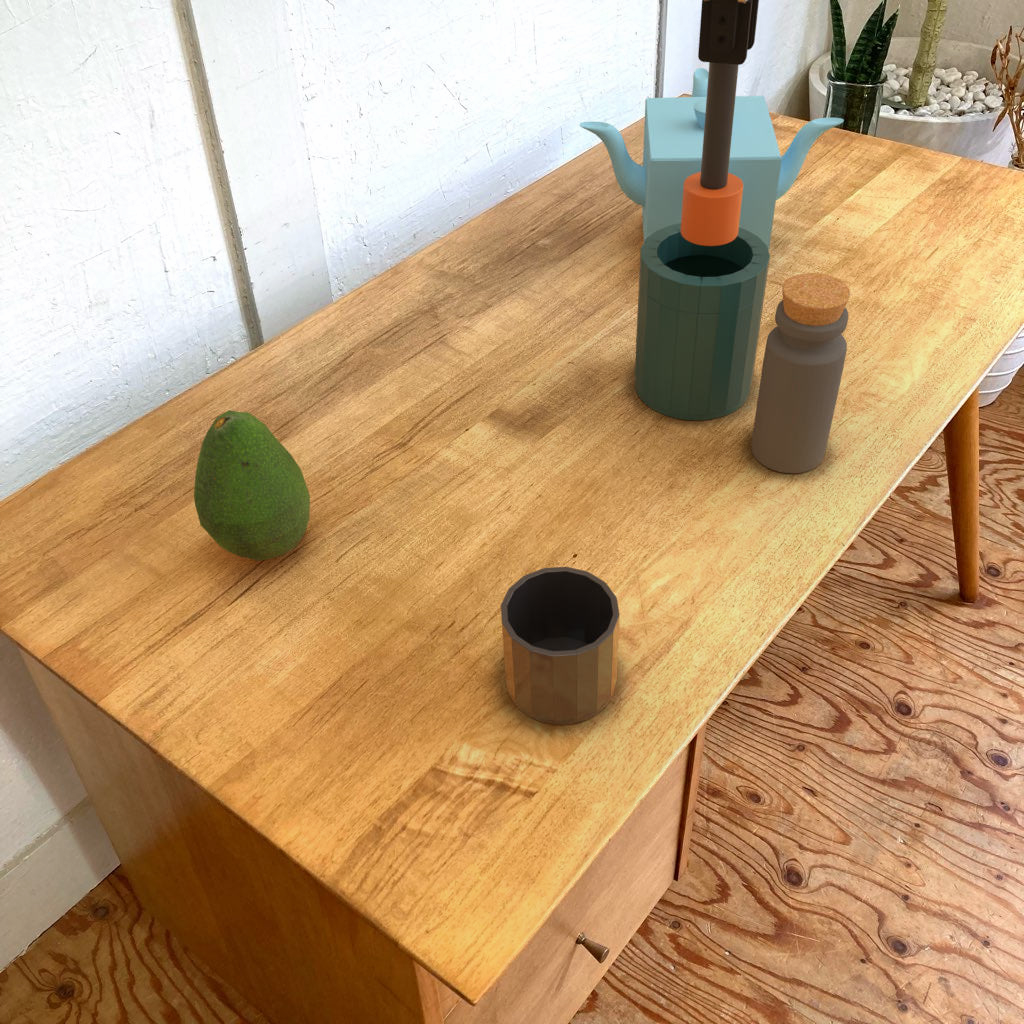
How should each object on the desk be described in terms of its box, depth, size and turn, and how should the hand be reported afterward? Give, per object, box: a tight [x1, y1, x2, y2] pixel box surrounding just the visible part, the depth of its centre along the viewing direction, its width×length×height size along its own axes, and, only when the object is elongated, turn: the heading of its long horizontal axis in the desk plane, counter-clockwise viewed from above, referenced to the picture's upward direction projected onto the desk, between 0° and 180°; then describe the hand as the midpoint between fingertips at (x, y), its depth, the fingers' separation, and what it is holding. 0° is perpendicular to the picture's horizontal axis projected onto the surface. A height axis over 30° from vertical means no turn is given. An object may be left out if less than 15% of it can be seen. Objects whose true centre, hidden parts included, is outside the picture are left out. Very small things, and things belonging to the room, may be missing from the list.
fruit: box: [193, 409, 311, 562], centre depth 75 cm, size 8×8×12 cm
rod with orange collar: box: [681, 62, 743, 246], centre depth 75 cm, size 4×4×19 cm
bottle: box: [750, 272, 851, 474], centre depth 80 cm, size 6×6×15 cm
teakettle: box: [579, 67, 845, 251], centre depth 104 cm, size 19×19×15 cm
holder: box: [500, 566, 620, 726], centre depth 67 cm, size 7×7×7 cm
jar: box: [634, 223, 771, 421], centre depth 87 cm, size 10×10×13 cm
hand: (726, 52), depth 72 cm, fingers closed on rod with orange collar, 2 cm apart
